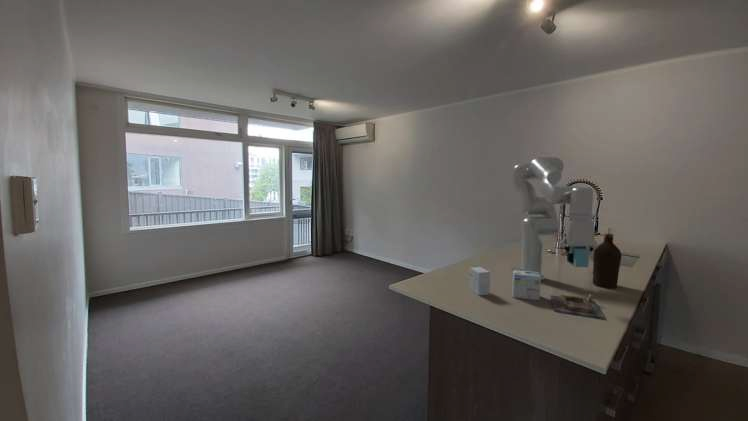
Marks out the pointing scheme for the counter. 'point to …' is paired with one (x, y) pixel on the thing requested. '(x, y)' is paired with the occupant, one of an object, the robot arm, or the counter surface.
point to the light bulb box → (526, 285)
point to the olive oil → (606, 263)
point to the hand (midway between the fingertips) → (577, 262)
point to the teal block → (580, 257)
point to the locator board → (576, 306)
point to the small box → (479, 281)
